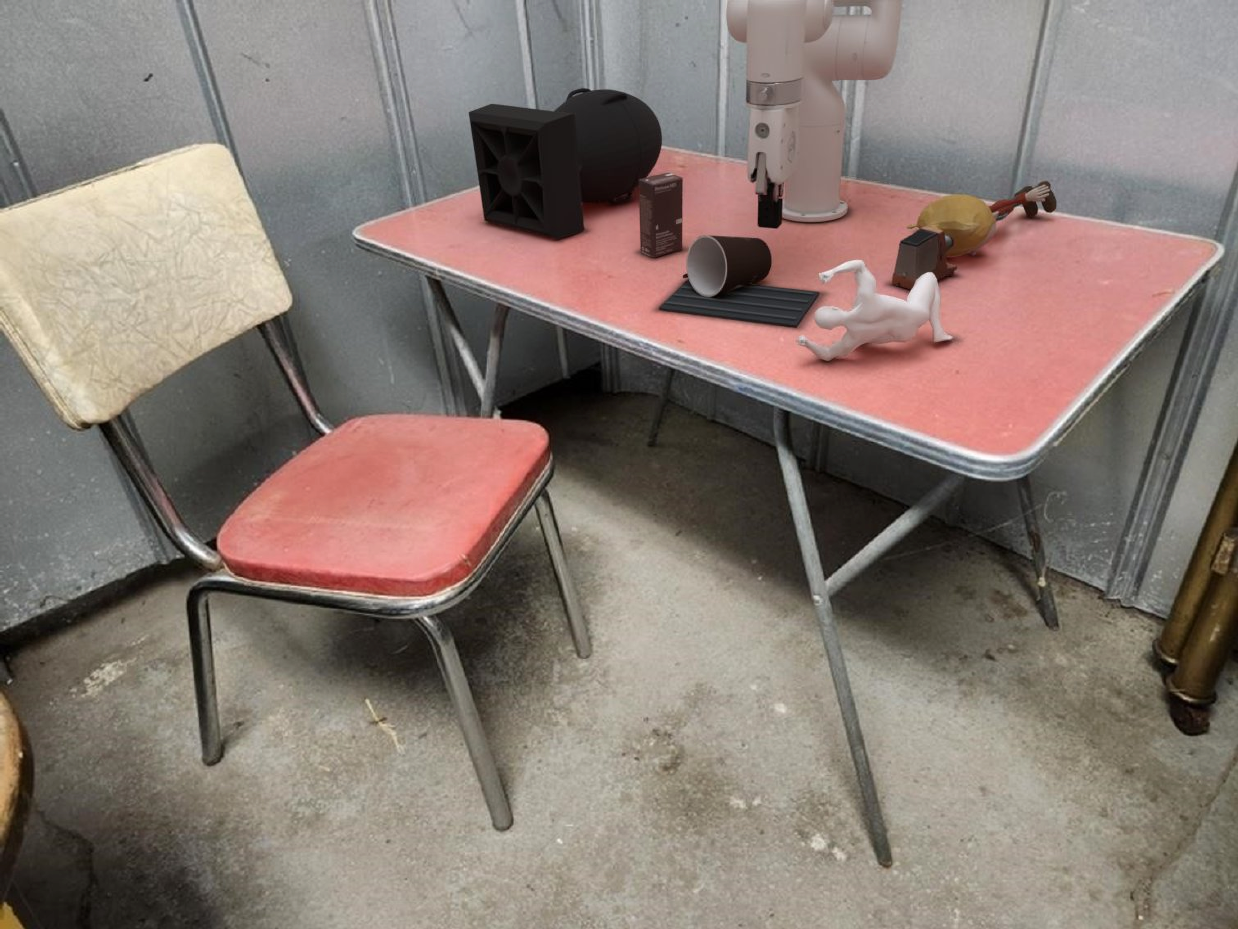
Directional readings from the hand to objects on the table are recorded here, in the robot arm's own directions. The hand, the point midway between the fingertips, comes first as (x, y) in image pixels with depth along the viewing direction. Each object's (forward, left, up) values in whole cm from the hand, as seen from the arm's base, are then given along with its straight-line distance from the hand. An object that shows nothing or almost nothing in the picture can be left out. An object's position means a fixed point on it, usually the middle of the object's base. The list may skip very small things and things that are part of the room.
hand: (769, 225), depth 128 cm
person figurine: (+21, +20, -8) cm, 30 cm away
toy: (-25, +28, -8) cm, 38 cm away
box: (-6, -20, -8) cm, 22 cm away
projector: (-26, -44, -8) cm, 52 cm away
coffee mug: (+1, -3, -5) cm, 6 cm away
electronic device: (-5, +22, -8) cm, 24 cm away
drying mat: (+10, -1, -8) cm, 13 cm away
